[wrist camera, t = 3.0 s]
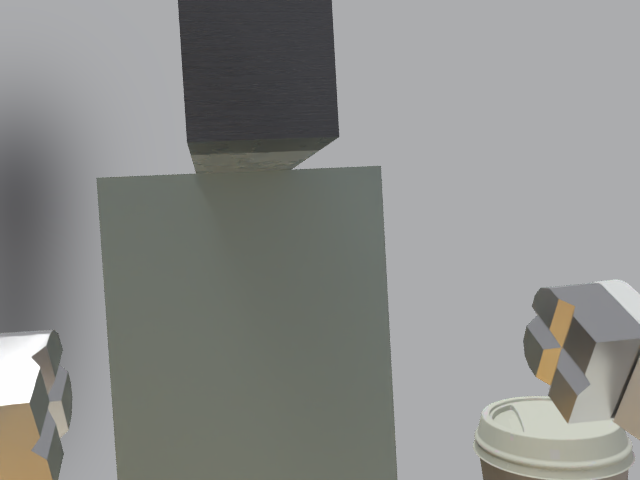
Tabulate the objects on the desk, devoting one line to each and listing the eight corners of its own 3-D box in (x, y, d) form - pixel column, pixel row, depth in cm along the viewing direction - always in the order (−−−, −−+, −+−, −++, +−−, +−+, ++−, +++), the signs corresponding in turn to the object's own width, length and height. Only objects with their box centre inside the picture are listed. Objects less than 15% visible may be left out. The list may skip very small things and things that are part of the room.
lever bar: (339, 136, 16) (330, -14, 16) (186, 141, 16) (177, -16, 16) (263, 188, 40) (259, 127, 40) (201, 191, 39) (197, 128, 39)
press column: (431, 731, 28) (402, 165, 27) (114, 798, 26) (70, 179, 25) (352, 549, 44) (332, 186, 43) (151, 579, 41) (125, 196, 40)
